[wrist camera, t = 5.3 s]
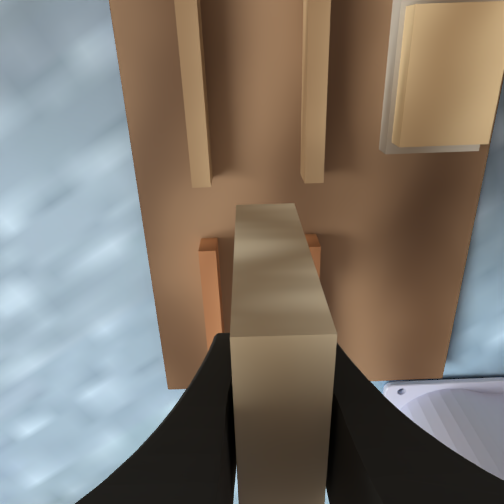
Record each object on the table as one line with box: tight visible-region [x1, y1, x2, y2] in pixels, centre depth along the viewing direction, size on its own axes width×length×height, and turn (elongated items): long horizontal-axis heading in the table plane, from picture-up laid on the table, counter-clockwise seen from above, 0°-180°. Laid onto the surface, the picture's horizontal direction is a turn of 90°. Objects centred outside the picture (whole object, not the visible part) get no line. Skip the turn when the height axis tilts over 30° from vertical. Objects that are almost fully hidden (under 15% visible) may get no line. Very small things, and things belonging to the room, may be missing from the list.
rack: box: [109, 0, 504, 389], centre depth 20 cm, size 16×22×3 cm
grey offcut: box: [379, 0, 504, 154], centre depth 18 cm, size 4×6×1 cm, turn 2°
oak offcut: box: [392, 1, 504, 147], centre depth 17 cm, size 4×5×1 cm
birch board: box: [230, 203, 337, 504], centre depth 13 cm, size 2×7×8 cm, turn 1°
